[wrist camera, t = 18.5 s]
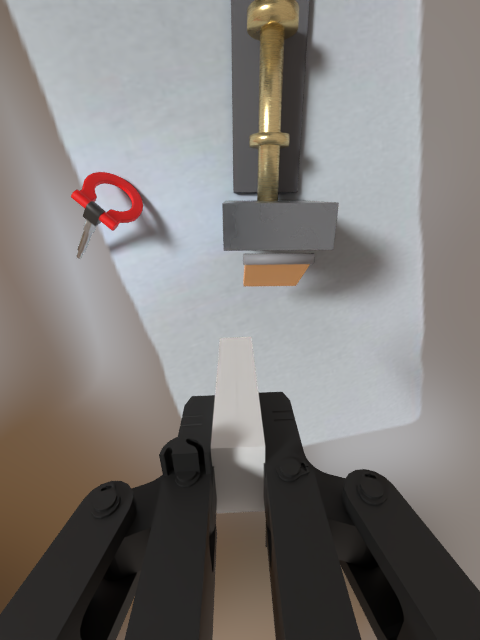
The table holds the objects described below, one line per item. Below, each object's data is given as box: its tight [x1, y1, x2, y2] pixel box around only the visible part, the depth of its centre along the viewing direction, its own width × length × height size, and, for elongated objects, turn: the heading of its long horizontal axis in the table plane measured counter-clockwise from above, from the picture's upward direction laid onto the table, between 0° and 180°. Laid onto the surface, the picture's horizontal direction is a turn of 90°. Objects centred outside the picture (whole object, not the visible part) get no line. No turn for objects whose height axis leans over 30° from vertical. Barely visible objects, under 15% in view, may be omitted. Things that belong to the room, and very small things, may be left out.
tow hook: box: [71, 172, 143, 259], centre depth 38 cm, size 7×10×7 cm
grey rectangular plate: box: [223, 200, 339, 251], centre depth 33 cm, size 4×10×14 cm, turn 90°
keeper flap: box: [243, 253, 314, 286], centre depth 31 cm, size 1×6×8 cm
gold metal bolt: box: [247, 0, 299, 201], centre depth 32 cm, size 18×5×5 cm, turn 0°
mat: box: [231, 0, 309, 192], centre depth 34 cm, size 22×8×1 cm, turn 0°
